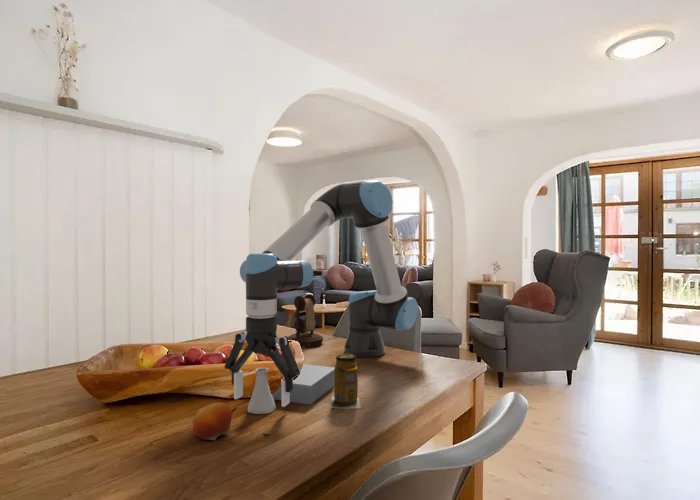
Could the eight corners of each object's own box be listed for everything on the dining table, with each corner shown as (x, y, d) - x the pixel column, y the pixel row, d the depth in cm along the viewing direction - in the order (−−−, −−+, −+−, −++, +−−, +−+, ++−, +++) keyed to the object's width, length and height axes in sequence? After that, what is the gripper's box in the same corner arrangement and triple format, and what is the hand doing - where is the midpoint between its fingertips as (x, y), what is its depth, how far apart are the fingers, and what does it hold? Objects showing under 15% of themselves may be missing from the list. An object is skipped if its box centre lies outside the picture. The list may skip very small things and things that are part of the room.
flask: (279, 404, 110) (279, 365, 110) (272, 415, 103) (271, 374, 102) (252, 403, 111) (252, 364, 110) (242, 414, 103) (242, 373, 103)
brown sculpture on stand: (308, 350, 165) (308, 298, 164) (279, 345, 172) (278, 295, 172) (330, 342, 177) (330, 294, 177) (301, 338, 185) (301, 292, 185)
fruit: (216, 442, 86) (202, 404, 88) (194, 454, 90) (181, 417, 92) (246, 427, 93) (232, 392, 95) (224, 438, 96) (212, 405, 98)
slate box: (297, 379, 129) (297, 363, 129) (336, 384, 125) (336, 367, 125) (268, 398, 114) (268, 380, 114) (311, 405, 109) (311, 385, 109)
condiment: (358, 396, 115) (358, 352, 115) (360, 409, 107) (360, 361, 107) (331, 397, 115) (331, 352, 115) (331, 409, 107) (331, 361, 106)
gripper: (210, 314, 107) (210, 399, 107) (299, 321, 98) (299, 413, 99) (228, 310, 114) (228, 389, 114) (313, 316, 105) (313, 402, 106)
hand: (261, 401), depth 107 cm, fingers open, 13 cm apart
